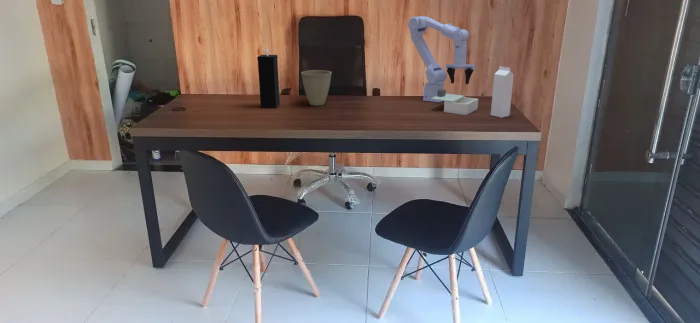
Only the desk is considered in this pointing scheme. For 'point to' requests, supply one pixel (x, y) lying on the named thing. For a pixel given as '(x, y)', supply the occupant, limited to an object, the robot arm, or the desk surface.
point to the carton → (461, 106)
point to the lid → (446, 96)
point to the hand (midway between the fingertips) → (459, 83)
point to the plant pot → (316, 85)
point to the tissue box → (268, 80)
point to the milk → (502, 92)
